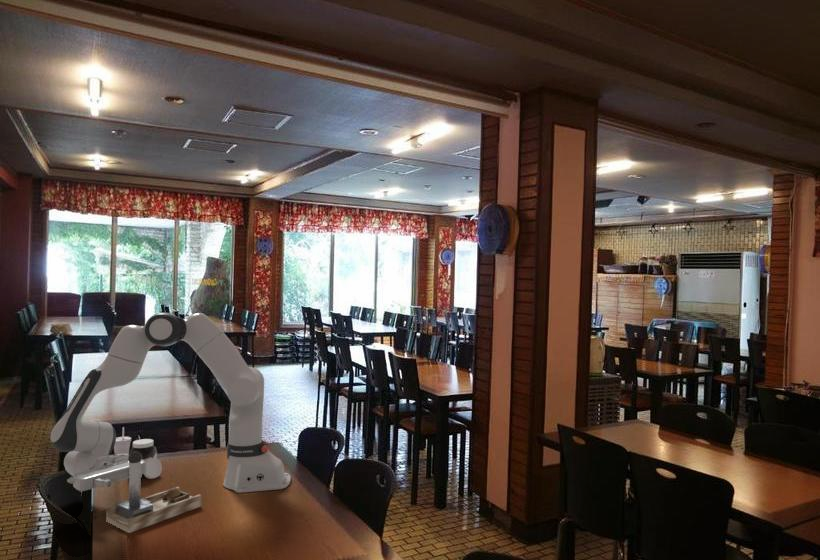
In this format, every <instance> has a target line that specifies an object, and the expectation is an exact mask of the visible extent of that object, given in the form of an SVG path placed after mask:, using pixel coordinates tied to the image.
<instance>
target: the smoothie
mask: <svg viewBox="0 0 820 560" xmlns="http://www.w3.org/2000/svg"><path fill="white" fill-rule="evenodd" d="M121 435H122V436H118V437H117V436H116V442H115V445H114V448H113V450H114V451H113V453H114V455H116V454H130V448H131V447H130V445H131V442H132V437H130V436H125V427H124V426H123V427H122V434H121Z"/></svg>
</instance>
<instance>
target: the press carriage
mask: <svg viewBox="0 0 820 560" xmlns="http://www.w3.org/2000/svg"><path fill="white" fill-rule="evenodd" d="M129 454H130V453H129ZM141 460H142V455H141V453H140V452H137V451H135V452H132V453H131V454H130V455H129V457H128V461H129V478H128V499H127V500H124V501H121V502H117V503H115V507H116V514H118V515H120V516H123V517H125V518H127V519H130V518H133V517H136V516H139V515H142V514H145V513H147V512H150V511H153V504H151V502H150V501H148V500H145V499H143V498H144V497H142V498H141V485H142V484H141V478H142V477H141Z"/></svg>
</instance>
